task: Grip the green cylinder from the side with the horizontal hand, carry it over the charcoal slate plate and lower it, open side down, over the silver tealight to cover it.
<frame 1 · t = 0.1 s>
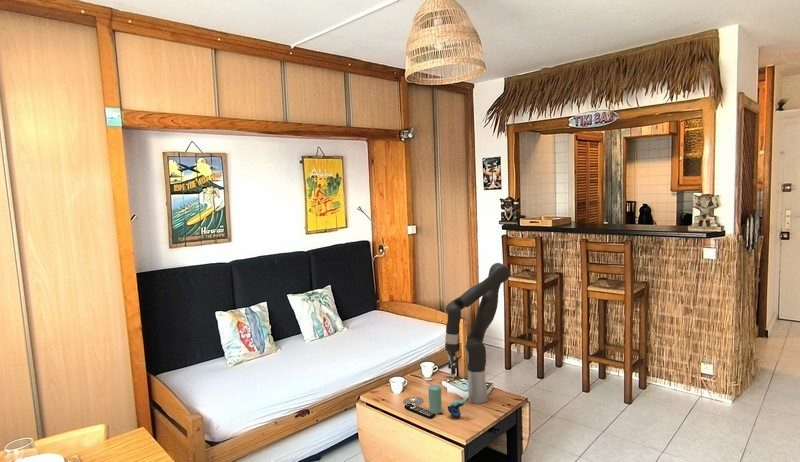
hand: (451, 371, 257), 17 cm above the table, tool pointing down, fingers open, 8 cm apart
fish: (458, 418, 241), on the table
green cylinder: (435, 411, 249), on the table
slate plate: (413, 402, 261), on the table
tealight: (413, 401, 261), point 1 cm above the table, touching slate plate
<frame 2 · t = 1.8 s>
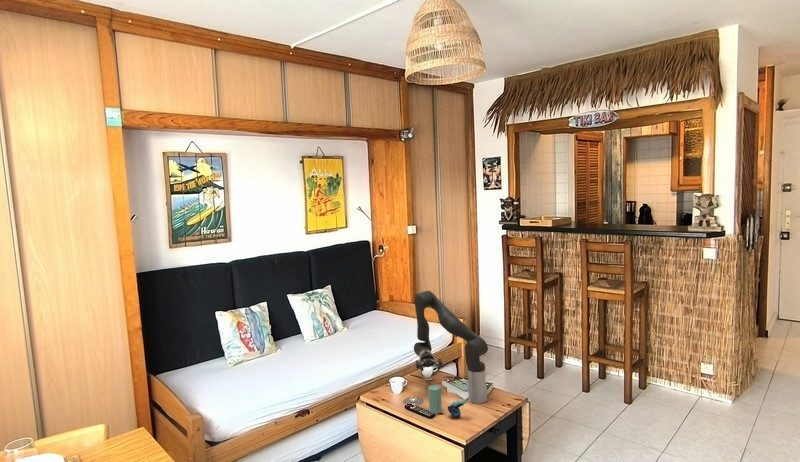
hand: (430, 369, 258), 18 cm above the table, tool horizontal, fingers open, 8 cm apart
nothing on the table moved.
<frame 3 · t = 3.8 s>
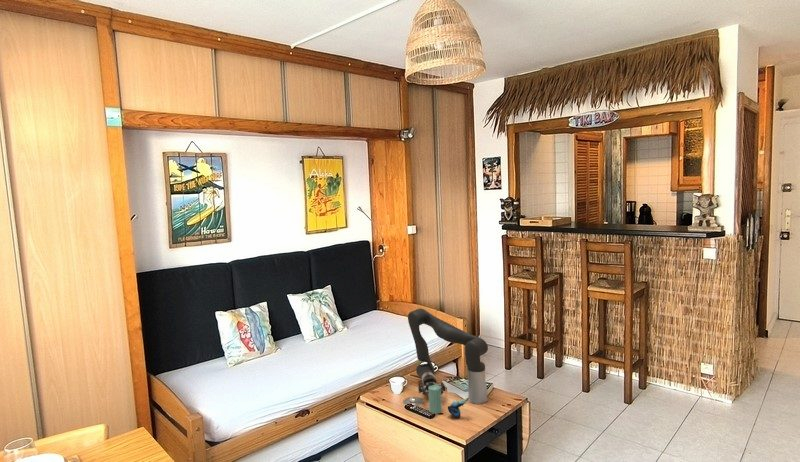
hand: (433, 393, 253), 8 cm above the table, tool horizontal, fingers open, 8 cm apart
nothing on the table moved.
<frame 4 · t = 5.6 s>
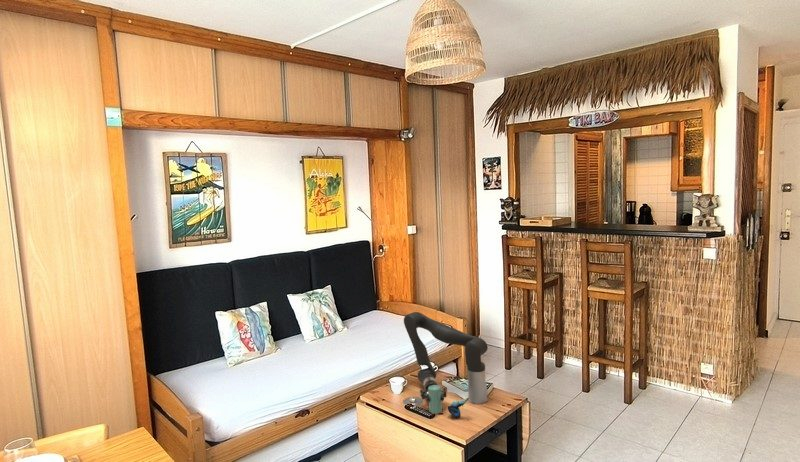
hand: (435, 399, 245), 8 cm above the table, tool horizontal, fingers closed on green cylinder, 6 cm apart
green cylinder: (435, 411, 248), on the table, touching gripper
everything else where it was.
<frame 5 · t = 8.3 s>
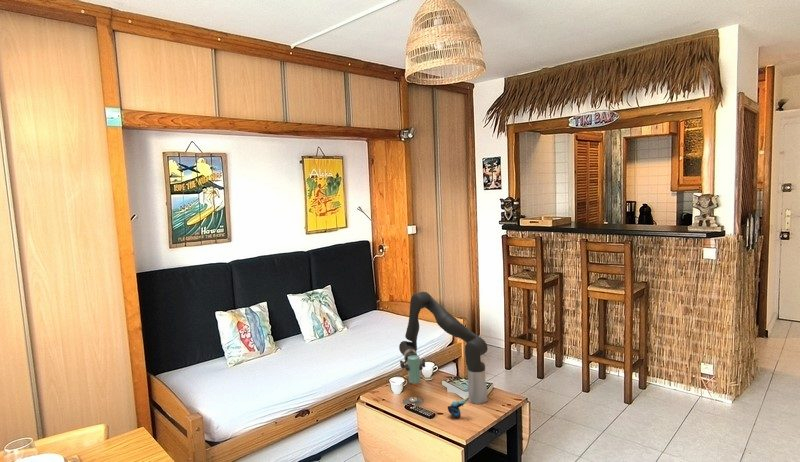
hand: (414, 368, 255), 20 cm above the table, tool horizontal, fingers closed on green cylinder, 6 cm apart
green cylinder: (414, 380, 258), point 12 cm above the table, touching gripper
everything else where it was.
when the fingers open (9 cm above the table, at t = 11.1 s): green cylinder drops 1 cm, resting on slate plate.
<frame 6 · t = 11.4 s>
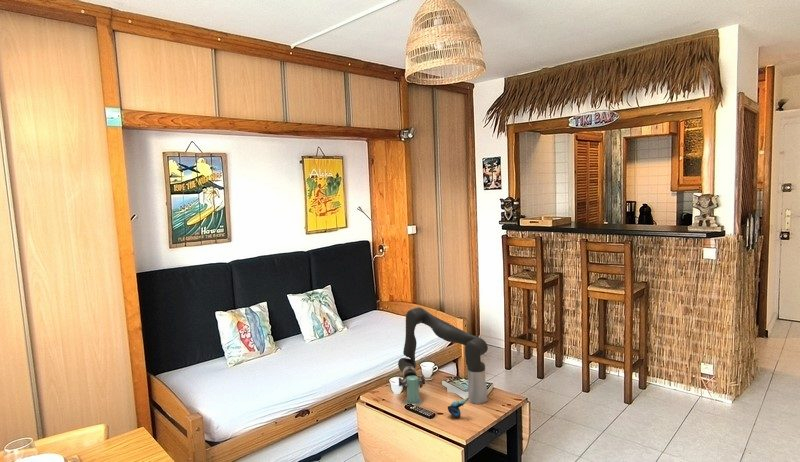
hand: (413, 386, 258), 10 cm above the table, tool horizontal, fingers open, 8 cm apart
green cylinder: (413, 401, 261), point 1 cm above the table, touching slate plate
everything else where it was.
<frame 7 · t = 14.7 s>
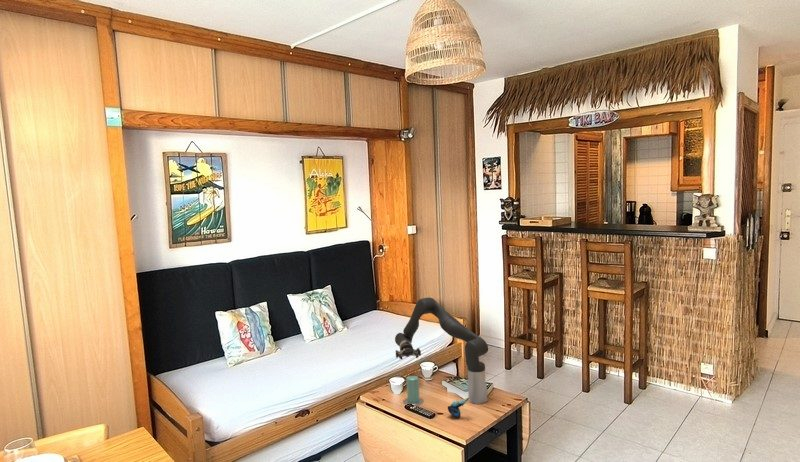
hand: (409, 357, 269), 21 cm above the table, tool horizontal, fingers open, 8 cm apart
nothing on the table moved.
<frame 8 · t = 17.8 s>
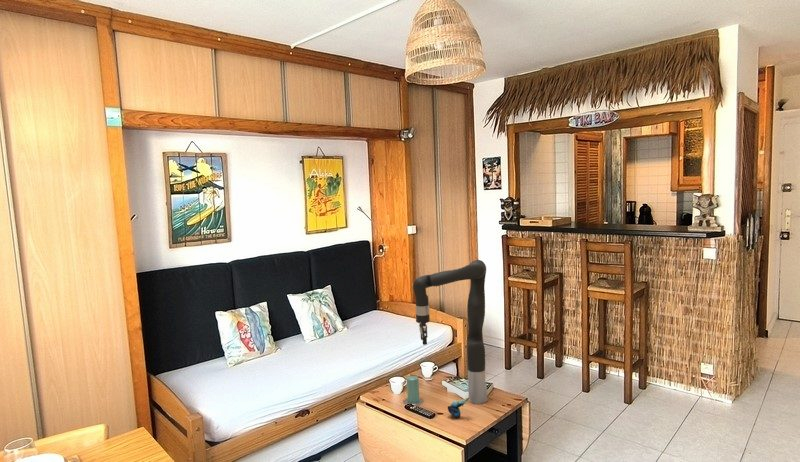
hand: (423, 342, 266), 30 cm above the table, tool pointing down, fingers open, 8 cm apart
nothing on the table moved.
at the end: green cylinder 0.1 cm from the tealight (horizontally); green cylinder point 0.6 cm above the table; green cylinder tilted 0° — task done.
